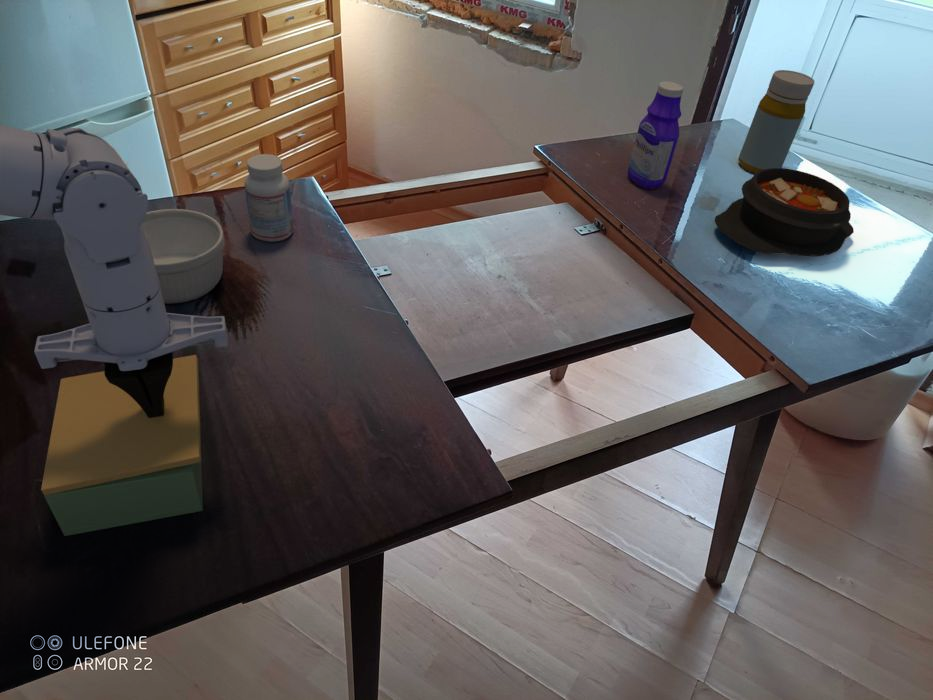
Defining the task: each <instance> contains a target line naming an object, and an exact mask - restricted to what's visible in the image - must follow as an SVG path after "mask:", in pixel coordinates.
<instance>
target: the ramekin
mask: <svg viewBox="0 0 933 700" xmlns="http://www.w3.org/2000/svg"><path fill="white" fill-rule="evenodd" d="M143 229H144V231H145V232H146V234H147V236H148V240H149V244H150V248H151V252H152V256H153V260H154V264H155V268H156V272H157V276H158V280H159V284H160V288H161V292H162V297H163V301H164V304H168V305H169V304H170V305H171V304H181V303H182V304H183V303H186V302H187V303H188V302H192V301H194V300H197V299H200V298H201V297H203V296H205V295H207V294H209V293H210V292H211V291H212V290H213V289H214V288H215V287H217V284H219V282H220V281H221V278H222V275H223V269H224V247H225V235H224V234H225V233H224V230H223V227H222V226H221V224H220V223H219V222H218V221H217V220H216V219H214V218H213V217H212V216H209V215H207V214H205V213H203V212H200V211H195V210H191V209H184V208H183V209H182V208H164V209H156V210H151V211H147V213H146V216H145V218H144V220H143Z"/></svg>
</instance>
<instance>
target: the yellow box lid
mask: <svg viewBox="0 0 933 700" xmlns="http://www.w3.org/2000/svg"><path fill="white" fill-rule="evenodd" d="M104 372H105V370H103V371H102V370H101V371H96V372H90V373H86V374H81V375H74V376H69V377H63V378H61V379H60V381H59V382H60V383H59V388H58V394H57V397H56V404H55V410H54V415H53V419H52V427H51V431H50V438H49V443H48V448H47V454H46V460H45V465H44V471H43V476H42V482H41V483H42V484H41V488H40V491H41V493H42V494H43V496H44V495H49V494H54V493H58V492H63V491H68V490H72V489H77V488H82V487H87V486H91V485H96V484H101V483H105V482H110V481H115V480H119V479H124V478H129V477H133V476H138V475H143V474H147V473H152V472H157V471H161V470H166V469H171V468H175V467H180V466H185V465H189V464H194V463H199V462H201V463H202V444H201V445H200V430H201V409H200V410H199V407H200V379H199V378H200V377H199V357H198V355H197V354H191V355H186V356H179V357H175V358H174V357H173V367H172V372H171V375H170V377H169V379H168V381H167V384H166V387H165V391H164V415H163V416H159V417H152V418H148V417H147V415H146V413H145V412H144V411H143V409H142V408H141V407H140V406H139V404H138V403H137V402H136V401H135V400H134V399H133V398H132V397H131V396H130V395H129V394H127V393H126V392H125V391H123V390H122V389H120V388H119V387H117V386H115V385H113V384H111V383H109V382H108V380H107V379H106V377H105V373H104Z"/></svg>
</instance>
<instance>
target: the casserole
mask: <svg viewBox="0 0 933 700" xmlns="http://www.w3.org/2000/svg"><path fill="white" fill-rule="evenodd" d="M741 193H742V196H743V197H741V198H739V199H737V200H735V201H733V202H732V203H730V205H729V206H728V207H727V208H726V209H725V210H724V211H722V212H721V213H719V214H717V215H716V216H715V217H714V223H715V225H716V227H717V228H718V229H719V230H720V231H721V232H722V233H723V234H724V235H725V236H726V237H727V238H728V239H730V240H732V241H733V242H735V243H737V244H738V245H740V246H742V247H744V248H746V249H748V250H751V251H753V252H756V253H758V254H763V255H764V254H765V255H793V256H802V257H822V256H828V255H829V256H830V255H832V254H834V253H837V252H838V251H839V250H840V249H842V247H843V245H844V244H845V241H846V239H848V238H849V237H850V236H852V235H853V234H854V227H853V225H852V224H851V223H850V221H851V218H852V217H851V216H852V215H851V211H850V202H851V201H850V199H849V197H848V195H847V194H846V193H845V191H844V190H842V189H841V188H840V187H839V186H837V185H835V184H834V183H832V182H831V181H828V180H827V179H824V178H823V177H819V176H818V175H814V174H812V173H809V172H804V171H801V170H796V169H791V168H771V169H764V170H761V171H759V172H757V173H756V174H753V176H752V177H751V178H749V179H748V180H746V181H745V182H744V183H743V184H742V185H741Z"/></svg>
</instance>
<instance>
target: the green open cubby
mask: <svg viewBox="0 0 933 700" xmlns="http://www.w3.org/2000/svg"><path fill="white" fill-rule="evenodd" d="M199 410H200V411H201V407H200V406H199ZM201 432H202V431H201V429H200V445H201V446H202V436H201ZM202 468H203V467H202V461H201V462H199V463H194V464H189V465H185V466H180V467H175V468H171V469H166V470H161V471H157V472H152V473H147V474H143V475H138V476H133V477H129V478H124V479H119V480H115V481H110V482H105V483H101V484H96V485H91V486H87V487H82V488H77V489H72V490H68V491H63V492H58V493H54V494H49V495H44V494H43V497H44V499H45V501H46V503H47V504H48V506H49V509H50V510H51V512H52V515H53V516H54V518H55V520H56V522H57V524H58V526H59V529H60V530H61V532H62V534H63V536H64V537H68V536H72V535H78V534H84V533H90V532H94V531H100V530H106V529H111V528H112V529H113V528H117V527H122V526H128V525H132V524H133V525H134V524H137V523H144V522H150V521H155V520H160V519H165V518H166V519H167V518H171V517H176V516H183V515H187V514H192V513H198V512H203V510H204V504H203V502H204V501H203V500H204V499H203V469H202Z"/></svg>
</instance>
